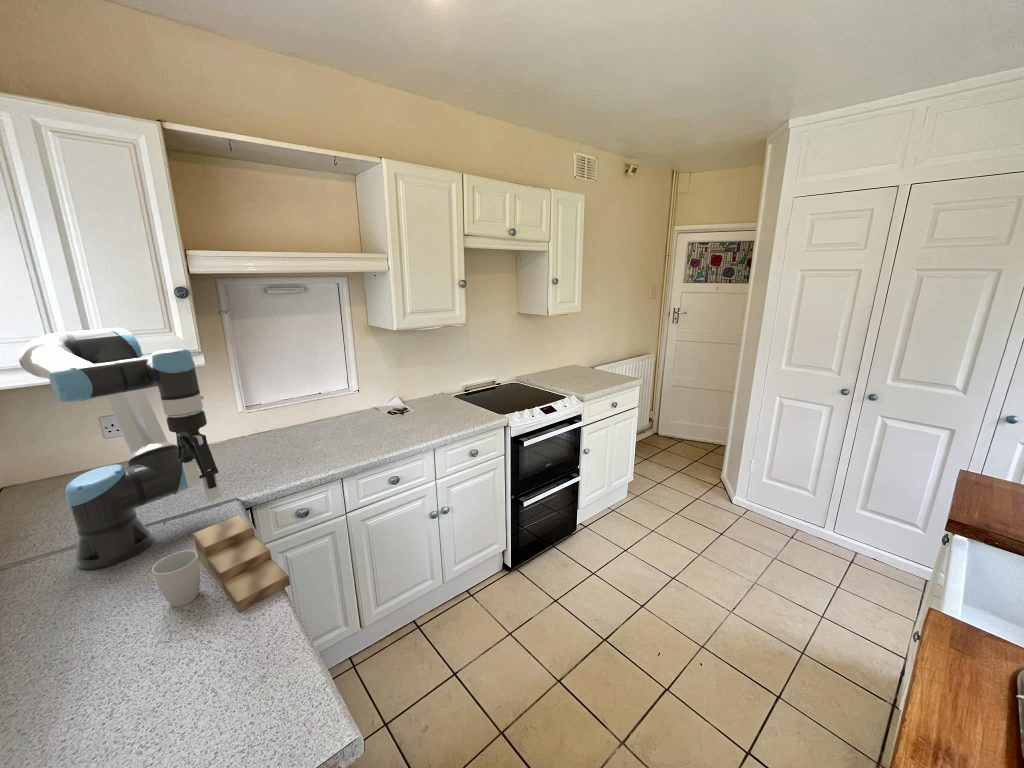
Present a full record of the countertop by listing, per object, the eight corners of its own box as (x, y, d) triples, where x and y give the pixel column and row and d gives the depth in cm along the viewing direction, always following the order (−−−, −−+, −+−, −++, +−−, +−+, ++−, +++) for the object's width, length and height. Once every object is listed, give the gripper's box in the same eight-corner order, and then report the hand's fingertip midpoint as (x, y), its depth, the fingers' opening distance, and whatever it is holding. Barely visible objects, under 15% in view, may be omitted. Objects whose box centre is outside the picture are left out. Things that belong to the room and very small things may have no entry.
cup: (200, 581, 102) (191, 546, 100) (210, 596, 97) (201, 559, 95) (158, 600, 96) (148, 563, 94) (167, 617, 91) (156, 579, 89)
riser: (239, 612, 92) (232, 583, 90) (198, 558, 111) (192, 533, 109) (290, 584, 100) (285, 557, 99) (244, 538, 119) (239, 514, 117)
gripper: (222, 417, 97) (239, 498, 102) (186, 401, 111) (203, 473, 117) (183, 426, 91) (204, 512, 96) (150, 408, 106) (170, 484, 111)
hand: (203, 491), depth 106 cm, fingers open, 13 cm apart
